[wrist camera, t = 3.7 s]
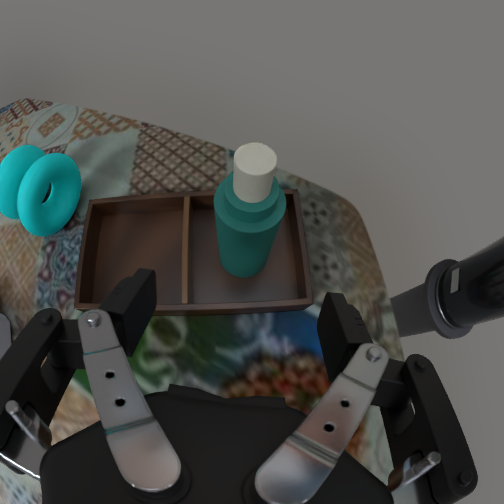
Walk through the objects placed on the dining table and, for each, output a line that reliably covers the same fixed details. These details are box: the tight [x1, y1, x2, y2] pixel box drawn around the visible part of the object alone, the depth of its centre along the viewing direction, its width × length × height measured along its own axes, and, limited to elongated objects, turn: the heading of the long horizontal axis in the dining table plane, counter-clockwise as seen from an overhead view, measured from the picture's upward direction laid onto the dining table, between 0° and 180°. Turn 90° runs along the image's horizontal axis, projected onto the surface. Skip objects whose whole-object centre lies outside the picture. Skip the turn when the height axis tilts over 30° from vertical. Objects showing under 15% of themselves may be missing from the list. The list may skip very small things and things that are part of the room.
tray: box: [74, 189, 313, 316], centre depth 28 cm, size 23×12×4 cm, turn 94°
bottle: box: [214, 143, 286, 278], centre depth 22 cm, size 5×5×16 cm
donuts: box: [0, 145, 81, 236], centre depth 26 cm, size 10×10×10 cm
